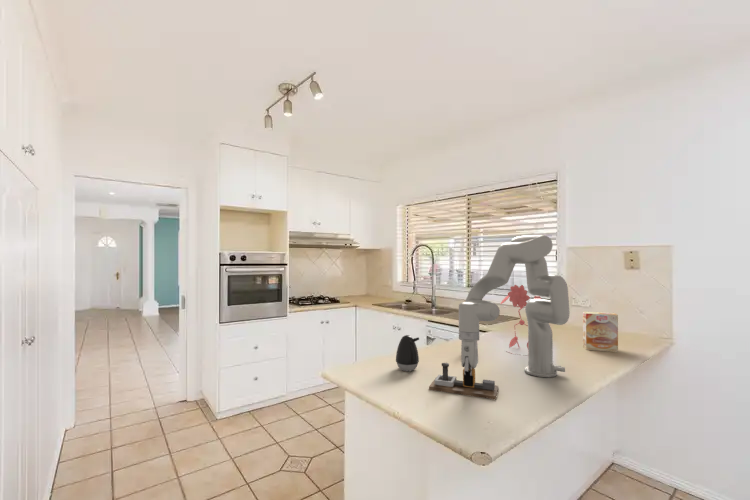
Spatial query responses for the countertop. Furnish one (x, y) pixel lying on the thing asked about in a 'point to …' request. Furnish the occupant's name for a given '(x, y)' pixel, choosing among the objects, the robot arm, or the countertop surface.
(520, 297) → the red flower sprig
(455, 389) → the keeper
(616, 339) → the coffeecake box
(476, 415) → the countertop surface
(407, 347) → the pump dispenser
